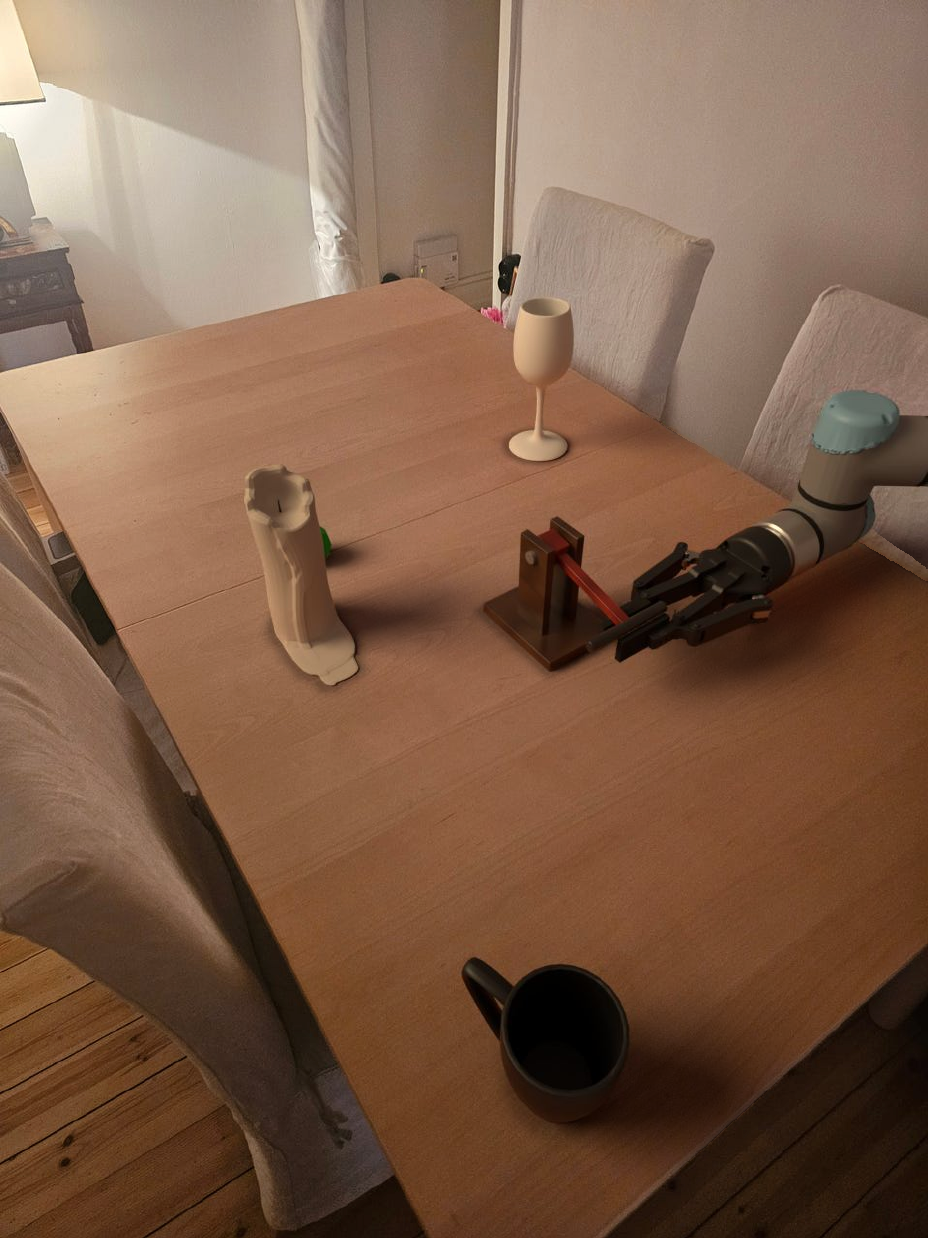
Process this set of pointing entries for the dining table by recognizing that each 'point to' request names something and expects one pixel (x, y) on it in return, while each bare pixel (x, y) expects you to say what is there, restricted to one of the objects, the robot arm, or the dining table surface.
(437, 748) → the dining table surface
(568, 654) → the rod stand
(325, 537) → the polyhedron
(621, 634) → the red lever
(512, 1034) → the mug
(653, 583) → the robot arm
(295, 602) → the candle
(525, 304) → the wineglass
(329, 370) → the dining table surface
